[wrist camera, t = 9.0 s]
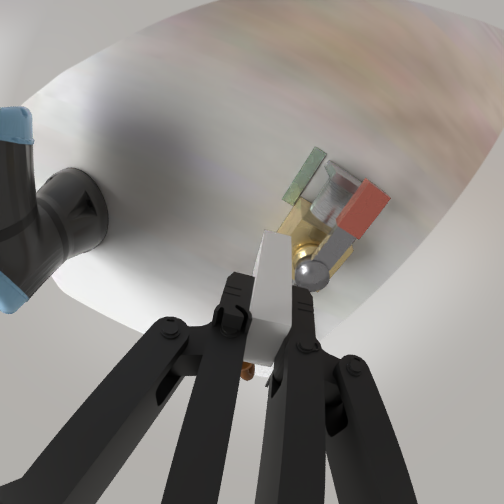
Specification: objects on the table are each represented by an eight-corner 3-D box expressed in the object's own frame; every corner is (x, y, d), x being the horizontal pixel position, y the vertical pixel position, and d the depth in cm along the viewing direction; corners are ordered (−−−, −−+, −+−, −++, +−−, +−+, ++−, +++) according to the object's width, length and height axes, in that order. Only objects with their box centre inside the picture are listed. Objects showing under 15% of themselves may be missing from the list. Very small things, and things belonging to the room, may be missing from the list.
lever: (361, 174, 22) (365, 179, 21) (389, 195, 23) (394, 201, 21) (288, 273, 29) (287, 282, 28) (315, 287, 29) (316, 296, 28)
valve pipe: (241, 262, 40) (229, 301, 33) (315, 146, 30) (323, 161, 23) (292, 288, 41) (290, 330, 34) (372, 185, 31) (394, 211, 24)
